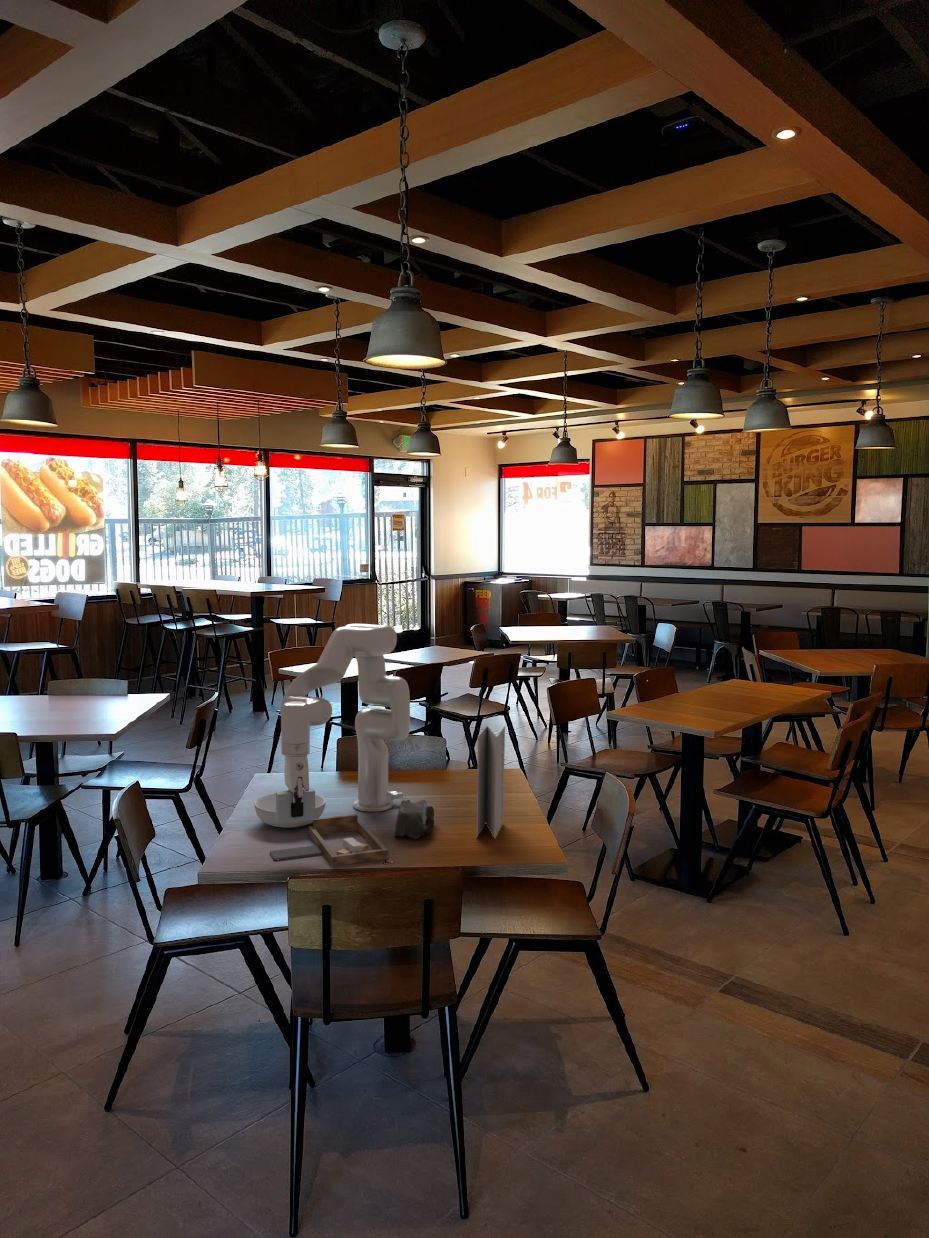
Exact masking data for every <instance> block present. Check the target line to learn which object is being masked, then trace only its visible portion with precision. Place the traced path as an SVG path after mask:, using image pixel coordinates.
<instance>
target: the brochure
mask: <svg viewBox="0 0 929 1238" xmlns="http://www.w3.org/2000/svg"><path fill="white" fill-rule="evenodd" d="M505 736H506V726H503V727H502V729H501V730H500V731H499V733H498V734H497V735H496V734H495V733H494V732H493V730H492V729H491V727H489V725H486V726H485V727H484V728H483V730H481V732H480V733H479V734H478V735H477V768H476V769H477V774H476V775H477V777H476V778H477V783H476V833H475V834H476V836H475V837H478V835H479V833H480V831H481V829H482V828H483V826H484V824H485V822H486V823H487V825H488V827H489V829H490V830H491V832H492V834H493V836H494V838H496V836H497V834H498V831H499V829H500V828H501V825H502V823H503V824H504V804H505V803H504V802H505V800H504V797H505V796H504V795H505V794H504V793H505V789H504V788H505V746H506V745H505V743H506V742H505V741H506V737H505ZM485 825H486V824H485ZM484 827H485V826H484ZM488 827H487V828H488ZM483 829H484V828H483ZM489 829H488V830H489ZM501 829H502V828H501ZM481 832H482V831H481ZM480 834H481V833H480ZM498 835H499V834H498ZM479 836H480V835H479ZM497 837H498V836H497ZM478 838H479V837H478ZM496 839H497V838H496Z"/></svg>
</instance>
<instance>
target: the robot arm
mask: <svg viewBox="0 0 929 1238" xmlns="http://www.w3.org/2000/svg"><path fill="white" fill-rule="evenodd" d="M397 636H398V635H397V632H396V630H395V629H394V627H392V626H390V625H387V624H371V623H370V624H369V623H348V624H346V625H344V626H339V627H337V628H335V629H334V630H333V631H332V633H331V634H330V637H329V639H328V641H327V643H326V644H325V647H324V649H323V651H322V653H321V655H320V656H319V658H318V660H317V662H316V663H315V664H314V665H312V666H311V667H309V668H308V669H306V670H305V671H303V672H302V673H300V674H299V675H298V676H297V677H295V678H294V679H293V680H292V681H291V683H290V684H289V685H288V687H287V690H286V691H285V693H284V695H283V697H282V699H281V703H280V706H279V707H280V708H279V713H280V717H281V718H280V729H281V730H280V736H281V737H280V738H281V739H280V745H281V748H280V749H281V751H280V753H281V755H282V756H284V766H283V767H284V777H283V778H284V785H285V786H286V787H287V791H288V790H290V791H291V792H292V803H291V817H302V816H303V789H305V790H306V791H309V788H310V773H309V772H310V771H309V758H308V755H309V754H310V753H311V751H310V746H311V744H310V743H311V740H310V739H311V738H310V735H311V734H310V731H311V730H310V728H311V727H313V726H315V727H316V726H321V725H324V724H327V723H328V721H329V720H330V719H331V718H332V714H333V707H332V704H331V703H330V701H329V700H327V699H326V698H322V697H316V696H307V695H308V694H309V693H311V692H313V691H314V690H316V689H320V688H322V687H326V686H329V685H333V684H335V683H338V682H339V681H342V679H343V678H344V677H345V674H346V672H347V670H348V668H349V666H350V664H351V662H352V660H353V658H354V657H355V659H356V663H357V671H358V672H357V674H358V675H357V676H358V679H357V680H358V695H359V699H360V701H361V702H362V703H364V704H366V705H370V706H380V707H381V706H382V707H389V708H390V709H387V708H379V707H377V708H376V707H366V708H362V709H361V710H359V711H358V712H357V714H356V716H355V718H354V719H355V720H354V726H355V732H356V738H357V747H358V748H357V751H358V752H357V755H358V757H357V758H358V759H357V760H358V762H357V763H358V765H357V766H358V767H357V768H358V769H357V770H358V771H357V773H358V775H357V782H358V783H357V790H358V791H357V792H358V793H357V795H358V796H357V799H356V800H353V805H352V806H353V808H355V809H356V810H358V811H361V812H370V813H371V812H382V811H388V810H389V809H391V808H392V807H393V806H394V800H398V799H399V800H400V799H403V797H404V795H403V792H397V791H390V790H389V750H388V747H387V745H386V742H385V741H393V742H401V741H404V740H406V739H407V738H408V737H409V734H410V730H411V729H410V728H411V702H410V701H411V699H410V697H411V695H410V689H409V688H410V687H409V684H408V682H407V680H406V679H404V678H403V677H401V676H395V675H387V673H386V660H385V656H384V655H388V654H390V653H391V652H393V650H394V649H395V648H396V646H397V642H398V637H397ZM295 790H297V791H295ZM295 794H297V795H295Z"/></svg>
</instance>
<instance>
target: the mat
mask: <svg viewBox="0 0 929 1238" xmlns="http://www.w3.org/2000/svg"><path fill="white" fill-rule="evenodd" d="M269 854H270V856H271V855H272V856H271V858H272V857H273V858H274V859H273V858H272V859H273V861H274V860H277V859H285V860H291V859H292V858H293V859H299V858H308V857H313V856H314V857H316V856H321V855H323V853H322V851H321V850H320V849H319V847H318V846H317V845H316V844H315V845H308V846H301V847H293V848H283V849H276V850H270V851H269ZM290 858H291V859H290ZM277 861H278V860H277Z"/></svg>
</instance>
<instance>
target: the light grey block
mask: <svg viewBox="0 0 929 1238" xmlns="http://www.w3.org/2000/svg"><path fill="white" fill-rule="evenodd" d="M295 791H297V790H295ZM275 793H276V821H277V823H278V824H282V823H291V822H300V821H309V820H315V794H316V790H315V789H314V788H312V787H309V791H306V790H305V789H304V788H303V816H302V817H291V803H292V792H291V791H290V790H288V789H287V790H279V791H278V790H277V791H275ZM295 795H297V794H295Z"/></svg>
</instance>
